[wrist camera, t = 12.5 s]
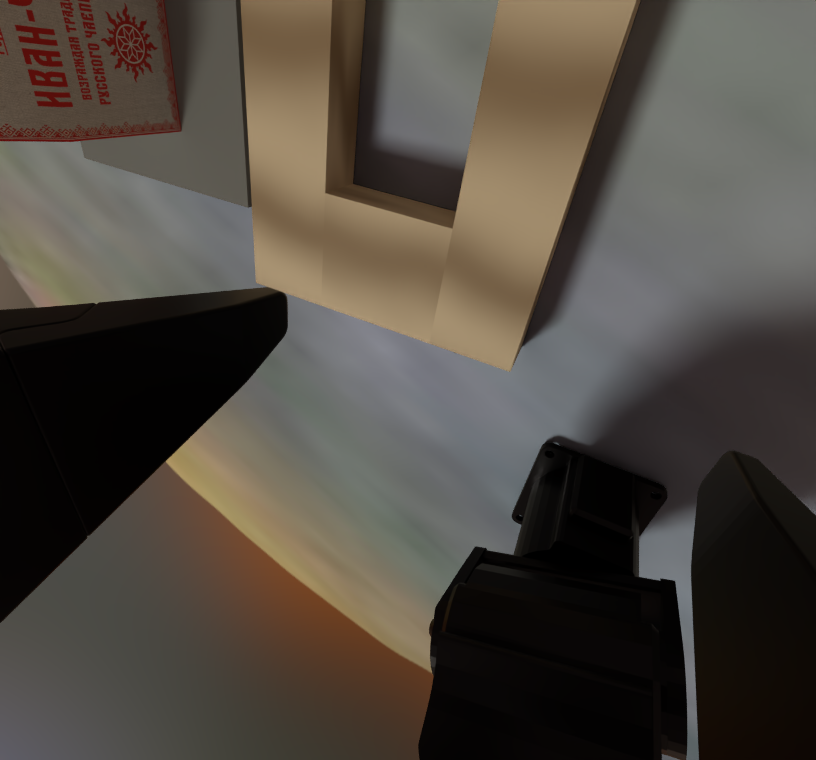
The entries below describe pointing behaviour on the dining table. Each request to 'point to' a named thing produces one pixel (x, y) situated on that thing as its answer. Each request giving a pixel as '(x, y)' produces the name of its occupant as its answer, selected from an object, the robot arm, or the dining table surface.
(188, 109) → the mat
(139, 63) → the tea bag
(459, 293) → the holder
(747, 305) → the dining table surface
